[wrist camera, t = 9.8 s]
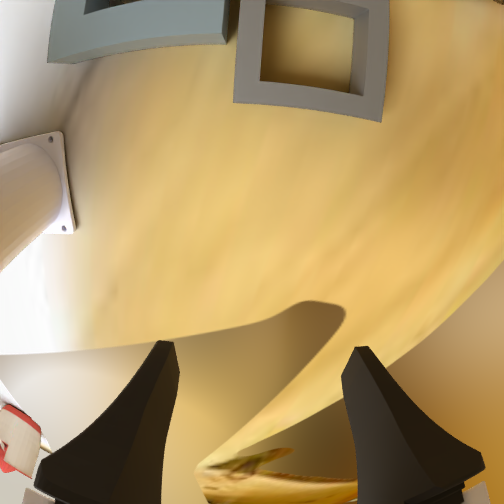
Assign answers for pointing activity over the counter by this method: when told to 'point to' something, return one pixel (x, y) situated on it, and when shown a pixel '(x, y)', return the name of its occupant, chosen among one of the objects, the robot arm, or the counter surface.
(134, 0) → the steel pin
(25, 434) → the citrus juicer
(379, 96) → the pin mount
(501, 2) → the cup
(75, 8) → the socket block
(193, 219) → the counter surface
